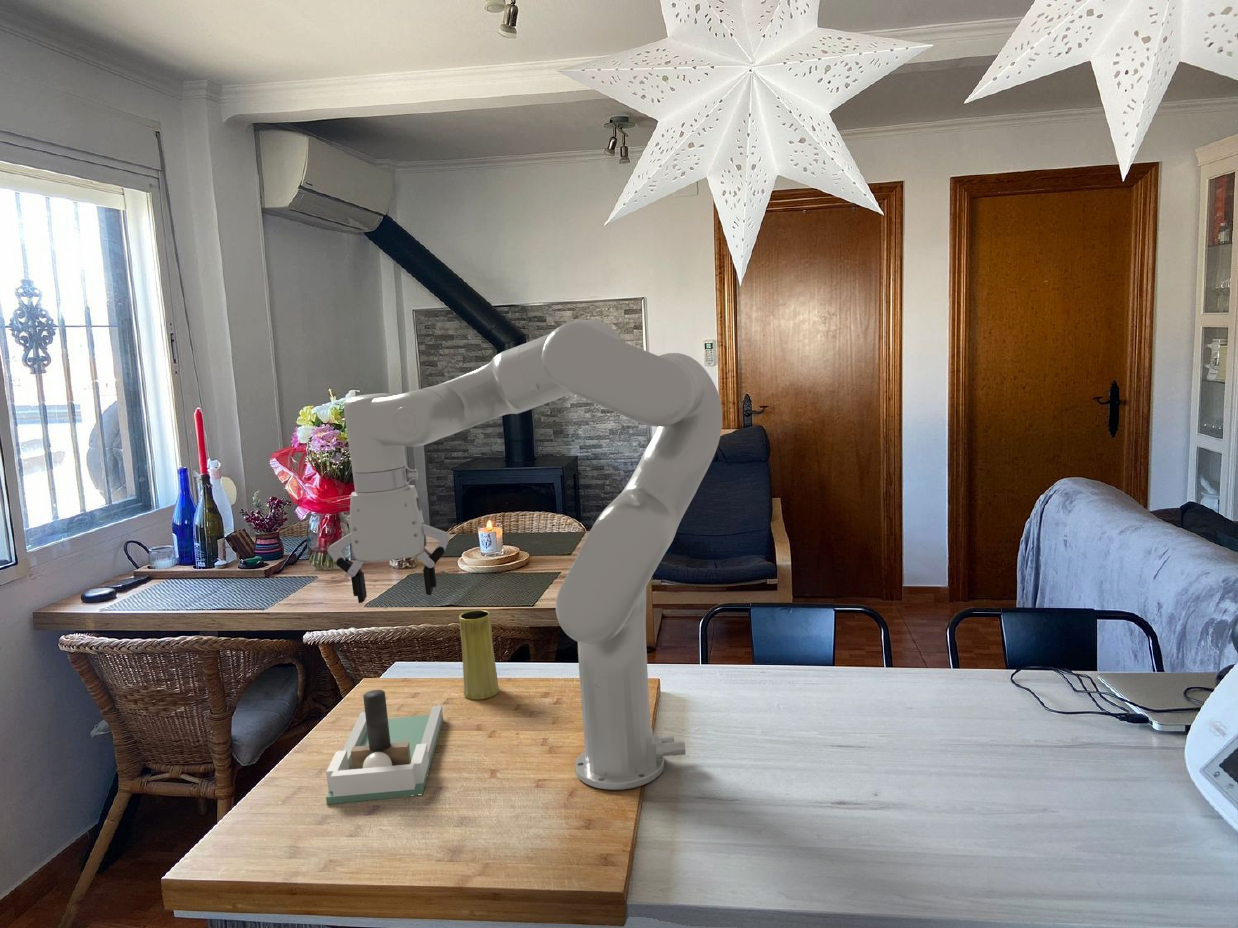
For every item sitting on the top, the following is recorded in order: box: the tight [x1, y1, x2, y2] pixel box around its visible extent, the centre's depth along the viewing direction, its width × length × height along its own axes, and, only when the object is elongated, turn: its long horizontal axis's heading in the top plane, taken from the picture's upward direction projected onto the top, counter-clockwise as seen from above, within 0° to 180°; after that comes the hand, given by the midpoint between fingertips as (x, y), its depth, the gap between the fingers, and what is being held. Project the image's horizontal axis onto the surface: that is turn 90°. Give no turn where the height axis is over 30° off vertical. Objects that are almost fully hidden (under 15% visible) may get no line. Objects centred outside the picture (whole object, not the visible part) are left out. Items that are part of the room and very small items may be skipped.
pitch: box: [325, 704, 444, 805], centre depth 139 cm, size 13×24×4 cm, turn 4°
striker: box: [351, 689, 411, 769], centre depth 133 cm, size 8×3×11 cm, turn 94°
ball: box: [363, 752, 392, 768], centre depth 131 cm, size 4×4×4 cm
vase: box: [458, 609, 500, 701], centre depth 160 cm, size 6×6×14 cm
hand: (396, 596), depth 135 cm, fingers open, 9 cm apart
